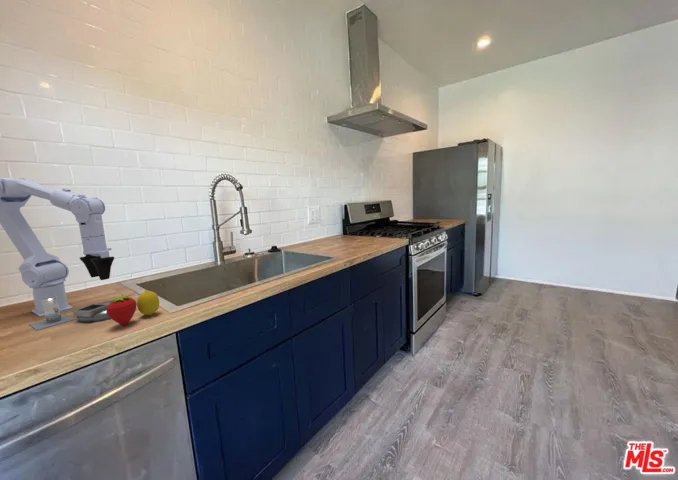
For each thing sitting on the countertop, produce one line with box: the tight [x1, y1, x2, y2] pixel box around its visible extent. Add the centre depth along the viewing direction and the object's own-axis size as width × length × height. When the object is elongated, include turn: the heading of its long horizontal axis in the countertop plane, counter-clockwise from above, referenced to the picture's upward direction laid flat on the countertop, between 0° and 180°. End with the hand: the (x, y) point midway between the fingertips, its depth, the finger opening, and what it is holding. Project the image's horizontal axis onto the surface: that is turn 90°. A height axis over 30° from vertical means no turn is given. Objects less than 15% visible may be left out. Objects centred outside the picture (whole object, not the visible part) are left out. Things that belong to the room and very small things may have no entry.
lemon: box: [136, 289, 160, 317], centre depth 85 cm, size 6×6×8 cm
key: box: [41, 296, 62, 323], centre depth 84 cm, size 3×3×7 cm
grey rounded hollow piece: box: [72, 299, 114, 324], centre depth 89 cm, size 14×14×4 cm
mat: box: [28, 314, 75, 332], centre depth 84 cm, size 8×8×1 cm
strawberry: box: [106, 290, 137, 327], centre depth 79 cm, size 6×8×10 cm
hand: (100, 278), depth 92 cm, fingers open, 7 cm apart
